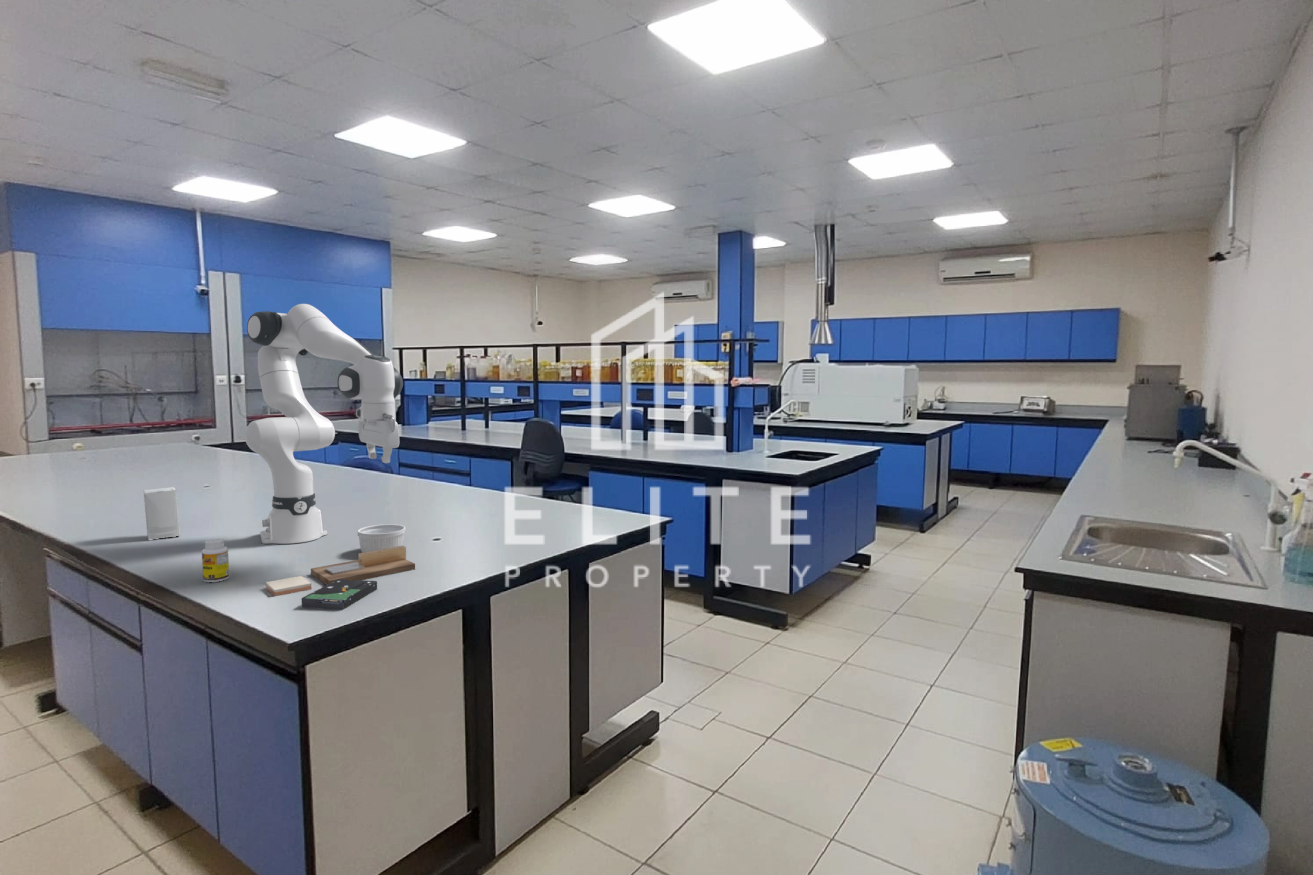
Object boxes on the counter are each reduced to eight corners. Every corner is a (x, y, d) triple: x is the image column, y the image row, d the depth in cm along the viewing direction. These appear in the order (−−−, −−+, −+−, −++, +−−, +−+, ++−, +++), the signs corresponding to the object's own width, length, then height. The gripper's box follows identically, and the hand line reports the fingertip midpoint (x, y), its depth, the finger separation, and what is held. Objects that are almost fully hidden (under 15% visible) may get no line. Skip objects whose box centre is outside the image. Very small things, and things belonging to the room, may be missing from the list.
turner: (399, 556, 187) (399, 544, 187) (409, 560, 183) (408, 548, 183) (324, 570, 173) (324, 557, 173) (333, 575, 169) (332, 562, 169)
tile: (265, 582, 163) (274, 590, 157) (301, 575, 168) (311, 583, 163) (266, 590, 163) (274, 598, 157) (301, 583, 169) (311, 591, 163)
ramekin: (348, 555, 193) (347, 531, 193) (379, 544, 206) (378, 522, 205) (385, 559, 190) (385, 535, 189) (415, 548, 202) (414, 525, 202)
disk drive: (338, 589, 165) (300, 609, 150) (338, 578, 164) (300, 597, 150) (378, 591, 164) (344, 611, 149) (377, 580, 163) (343, 599, 149)
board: (310, 574, 175) (310, 568, 174) (393, 558, 190) (393, 553, 190) (329, 586, 165) (329, 580, 165) (415, 569, 180) (415, 563, 180)
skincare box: (178, 533, 216) (175, 486, 215) (180, 537, 211) (177, 489, 210) (146, 537, 211) (143, 489, 210) (147, 541, 206) (144, 492, 205)
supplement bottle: (198, 581, 168) (196, 541, 167) (221, 575, 173) (219, 536, 172) (210, 584, 165) (208, 544, 164) (234, 578, 170) (232, 539, 169)
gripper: (405, 414, 183) (405, 464, 185) (375, 410, 198) (376, 455, 199) (382, 415, 179) (383, 466, 180) (353, 410, 193) (354, 457, 195)
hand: (379, 460), depth 190 cm, fingers open, 8 cm apart
